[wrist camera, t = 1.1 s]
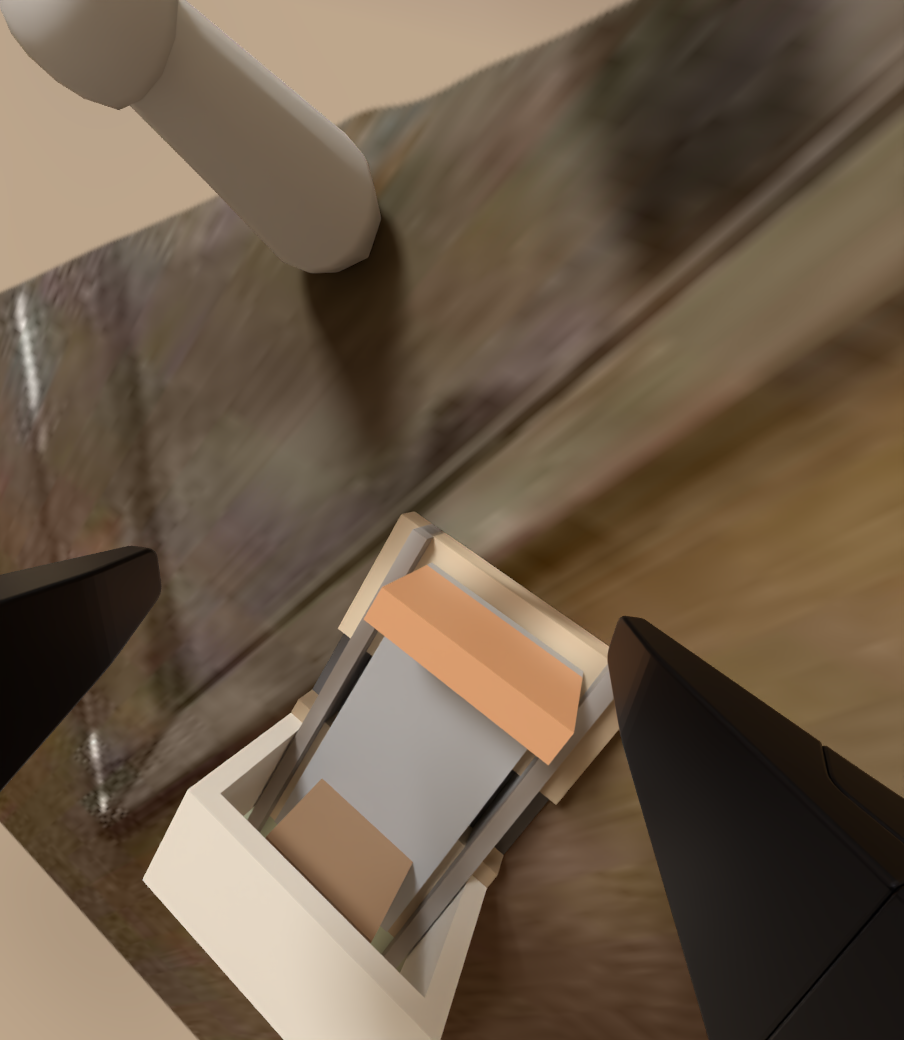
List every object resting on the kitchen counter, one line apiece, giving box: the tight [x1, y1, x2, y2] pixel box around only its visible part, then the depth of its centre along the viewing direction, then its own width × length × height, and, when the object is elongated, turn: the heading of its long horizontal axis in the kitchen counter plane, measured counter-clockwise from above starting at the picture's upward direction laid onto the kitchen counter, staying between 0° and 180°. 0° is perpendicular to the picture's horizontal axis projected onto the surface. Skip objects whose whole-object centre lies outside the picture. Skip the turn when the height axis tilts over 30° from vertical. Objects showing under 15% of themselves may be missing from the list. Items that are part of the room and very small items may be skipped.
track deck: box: [243, 512, 619, 973], centre depth 24 cm, size 13×26×2 cm, turn 149°
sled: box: [265, 563, 583, 943], centre depth 20 cm, size 8×18×5 cm, turn 149°
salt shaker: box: [0, 0, 381, 273], centre depth 16 cm, size 6×6×13 cm
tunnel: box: [143, 713, 487, 1040], centre depth 21 cm, size 13×6×6 cm, turn 59°
